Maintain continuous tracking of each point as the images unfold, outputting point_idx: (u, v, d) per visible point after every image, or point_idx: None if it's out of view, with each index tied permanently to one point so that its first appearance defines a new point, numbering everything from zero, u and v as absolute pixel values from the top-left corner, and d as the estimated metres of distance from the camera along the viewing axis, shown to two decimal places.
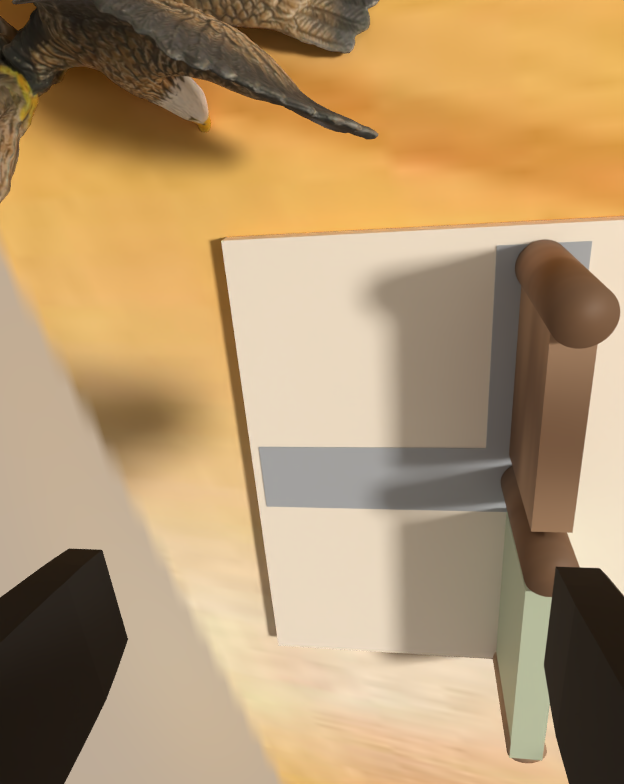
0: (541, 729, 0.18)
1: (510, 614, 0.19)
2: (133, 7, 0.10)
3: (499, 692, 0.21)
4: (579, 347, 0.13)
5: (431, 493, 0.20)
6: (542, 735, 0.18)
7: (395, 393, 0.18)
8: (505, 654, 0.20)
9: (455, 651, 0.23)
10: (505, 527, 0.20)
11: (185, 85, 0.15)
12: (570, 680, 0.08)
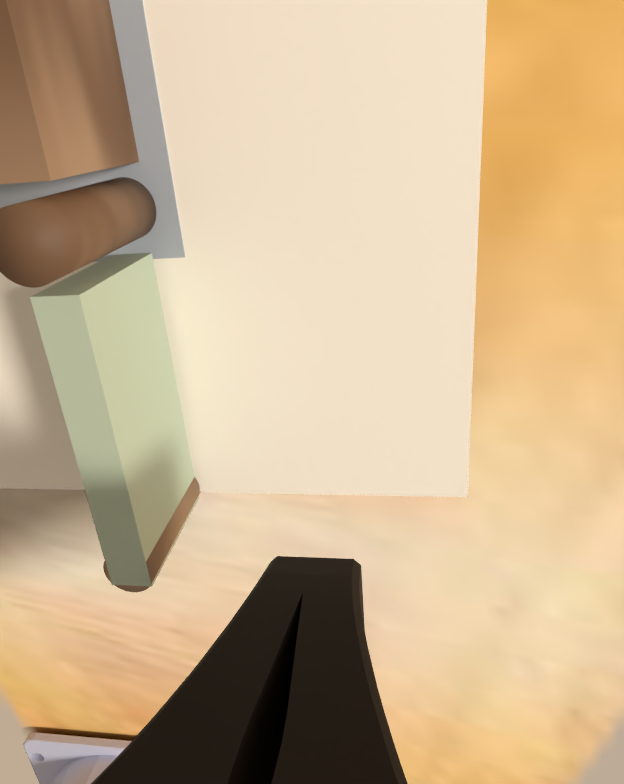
0: (133, 536, 0.13)
1: None
2: None
3: None
4: None
5: None
6: (138, 546, 0.13)
7: None
8: None
9: None
10: None
11: None
12: None
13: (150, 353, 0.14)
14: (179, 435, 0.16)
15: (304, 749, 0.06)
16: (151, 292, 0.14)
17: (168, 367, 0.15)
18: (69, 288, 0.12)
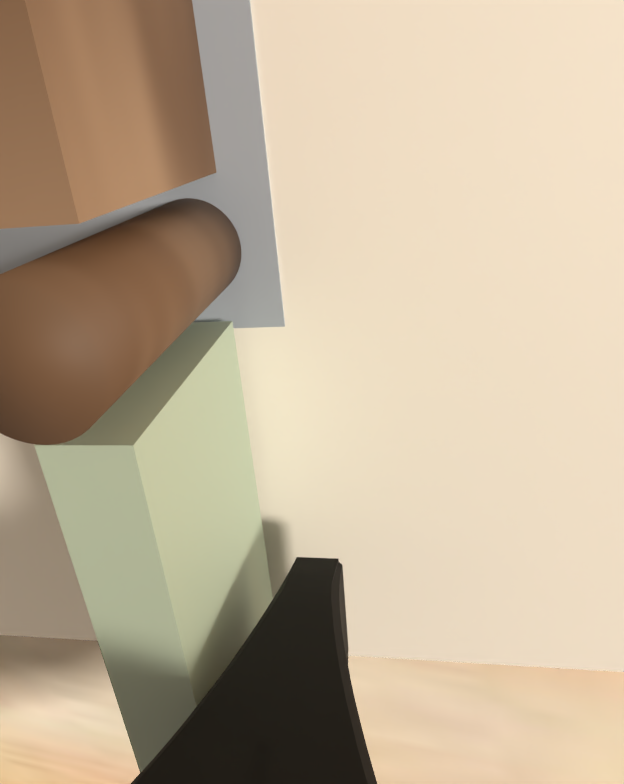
0: None
1: None
2: None
3: None
4: None
5: None
6: None
7: None
8: None
9: None
10: None
11: None
12: None
13: (231, 487, 0.08)
14: (264, 590, 0.10)
15: (275, 746, 0.06)
16: (232, 386, 0.09)
17: (252, 495, 0.10)
18: (109, 419, 0.06)
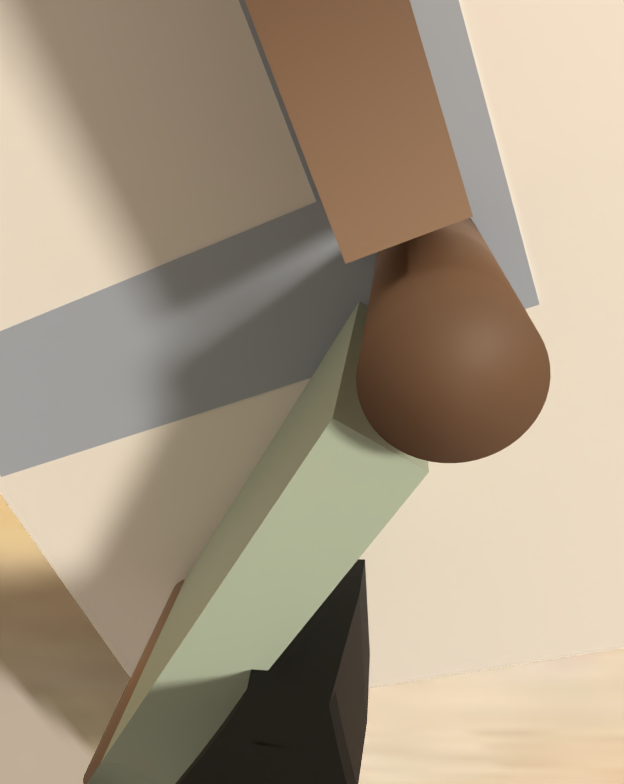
0: (178, 764, 0.08)
1: (250, 501, 0.08)
2: None
3: (144, 650, 0.10)
4: None
5: (259, 351, 0.09)
6: (173, 776, 0.08)
7: (80, 142, 0.08)
8: (194, 584, 0.09)
9: (455, 663, 0.12)
10: (337, 336, 0.09)
11: None
12: None
13: None
14: None
15: (255, 745, 0.06)
16: None
17: None
18: None
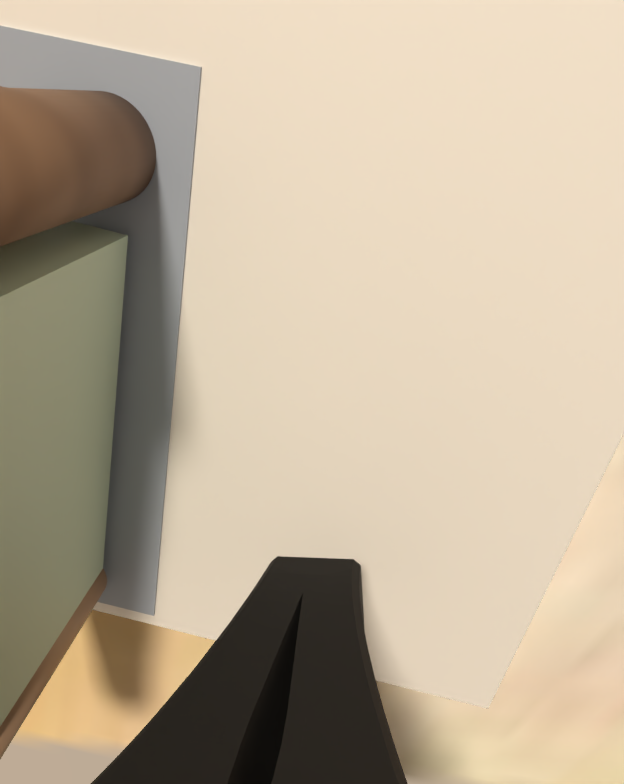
0: None
1: None
2: None
3: None
4: None
5: (133, 350, 0.09)
6: None
7: None
8: None
9: (617, 400, 0.09)
10: None
11: None
12: None
13: (82, 402, 0.08)
14: (96, 517, 0.10)
15: (304, 749, 0.06)
16: (110, 301, 0.08)
17: (106, 418, 0.09)
18: None
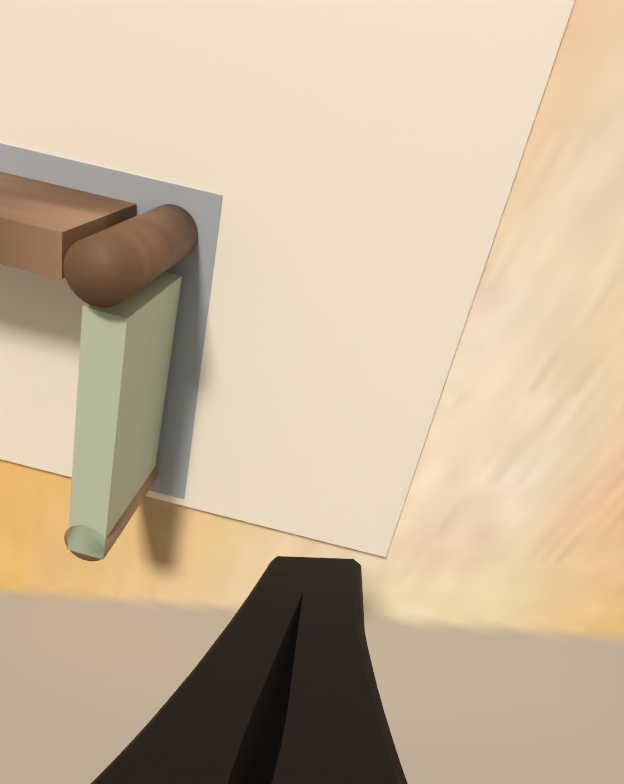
0: (102, 516, 0.15)
1: None
2: None
3: None
4: None
5: (180, 336, 0.17)
6: (103, 525, 0.15)
7: (58, 341, 0.18)
8: None
9: (438, 366, 0.16)
10: None
11: None
12: None
13: (156, 362, 0.16)
14: (156, 431, 0.18)
15: (304, 749, 0.06)
16: (172, 310, 0.16)
17: (165, 373, 0.17)
18: (116, 305, 0.13)
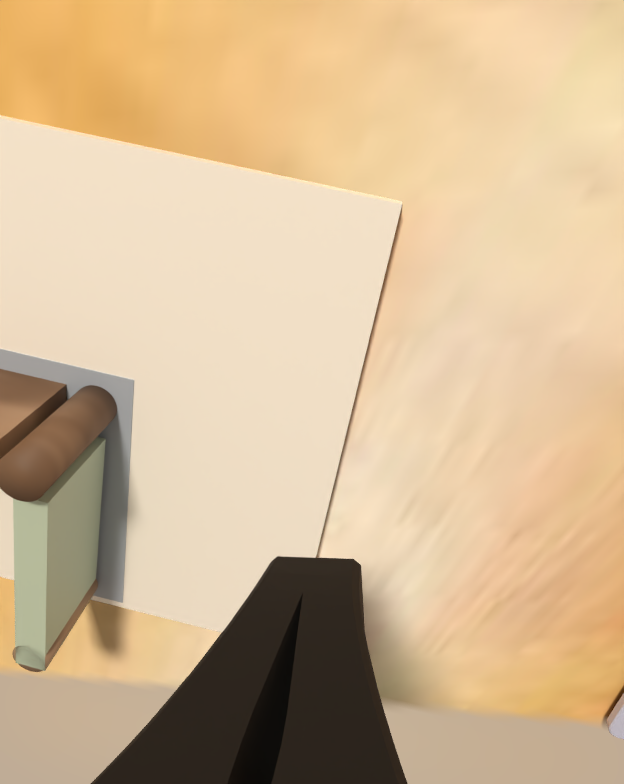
0: (41, 639, 0.19)
1: None
2: None
3: None
4: None
5: (109, 480, 0.20)
6: (42, 645, 0.19)
7: None
8: None
9: (318, 507, 0.20)
10: None
11: None
12: None
13: (85, 510, 0.19)
14: (92, 555, 0.21)
15: (304, 749, 0.06)
16: (98, 466, 0.19)
17: (96, 511, 0.20)
18: None
